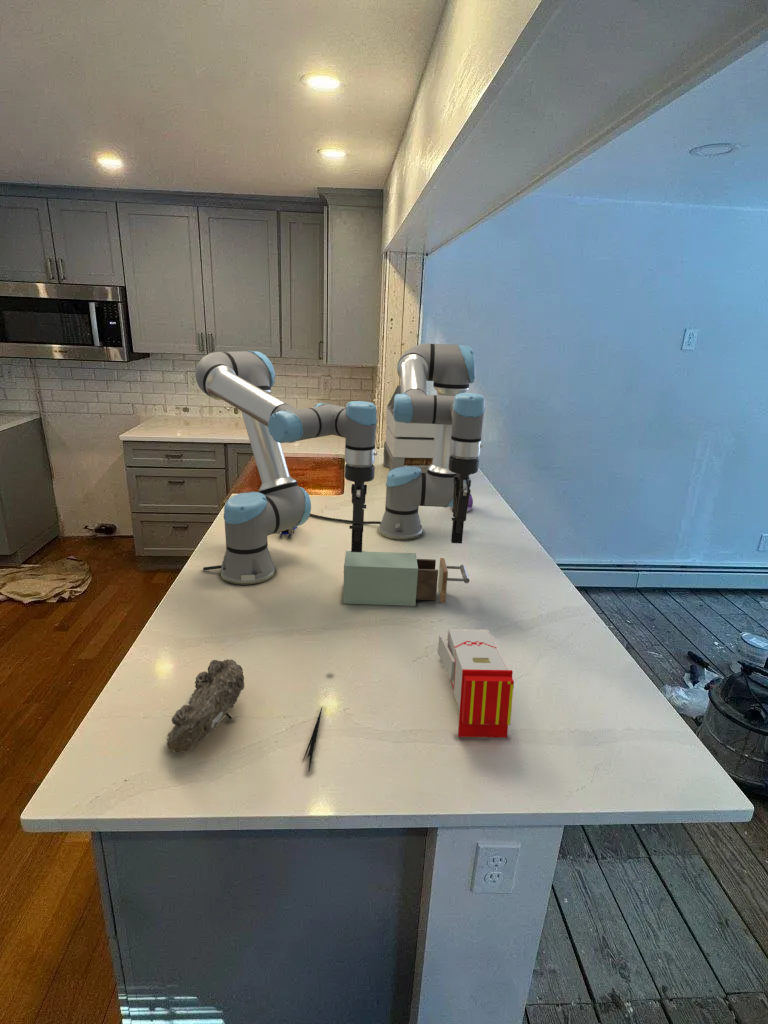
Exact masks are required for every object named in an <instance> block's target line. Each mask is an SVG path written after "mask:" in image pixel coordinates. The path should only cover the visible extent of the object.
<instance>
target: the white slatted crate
mask: <svg viewBox="0 0 768 1024" xmlns="http://www.w3.org/2000/svg"><path fill="white" fill-rule="evenodd" d="M396 394H401V384H400V385H399V384H398V385H397V386H396V388H395V390H394V392H393V394H392V395H391V398H390V400H389V402H388V404H387V405H386V413H385V414H386V415H385V423H386V428H385V438H384V442H383V466H384V467H388V468H389V472H390V471H391V470H393V469H395V468H399V467H405V466H413V467H428V466H430V465H431V464H432V462H433V448H434V434H435V424H420V423H403V422H396V421H395V420H394V418H393V416H394V397H395V395H396Z"/></svg>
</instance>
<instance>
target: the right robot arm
mask: <svg viewBox="0 0 768 1024" xmlns="http://www.w3.org/2000/svg"><path fill="white" fill-rule="evenodd" d="M475 358H476V357H475V353H474V350H473V348H472V347H471V346H470V345H465V344H464V345H463V344H453V343H452V344H449V343H448V344H447V343H429V342H426V343H425V342H424V343H419V344H416V345H414V346H412V347H410V348H409V349H407V350H406V351H405V352H404V353H402V354H401V356H400V357H399V359H398V361H397V366H396V372H397V375H398V377H399V379H400V386H401V394H396V395H395V397H394V416H393V418H394V420H395V421H396V422H403V423H420V424H435V434H434V448H433V462H432V464H431V465H430V466H429V465H428V466H427V471H426V472H424V471H423V472H422V469H421V468H420V467H419V466H407V465H404V467H399V468H395V469H393V470H391V471H390V470H389V471H388V473H387V475H386V482H385V486H386V488H385V489H386V490H385V504H384V505H385V507H384V508H385V509H384V513H383V515H382V519H381V521H379V520H378V521H377V520H376V521H374V520H373V521H372V520H371V521H368V520H367V521H365V520H364V525H378V533H379V534H380V535H381V536H382V537H385V538H387V539H389V540H395V541H410V540H415V539H418V538H420V537H421V536H422V535H423V525H422V524H421V518H420V515H419V507H433V508H434V507H435V508H452V507H453V509H451V511H452V517H451V521H452V524H451V525H452V527H451V535H450V537H451V538H450V542H451V544H463V535H464V525H465V522H467V514H468V512H467V508H468V501H469V496H470V494H471V493H472V490H471V485H472V479H470V475H475V474H476V473H478V472H479V465H480V458H479V456H480V454H481V448H483V447H484V446H483V443H482V434H483V427H484V425H483V424H484V418H485V417H484V416H485V412H486V407H485V406H486V398H485V397H484V395H482V394H479V393H475V392H467V391H468V390H469V389H470V384H474V383H475V380H476V360H475ZM427 382H433V384H432V386H433V387H432V388H434V390H435V391H436V393H437V394H429V392H428V384H427ZM469 488H470V489H469ZM309 517H312V518H317V519H322V520H326V521H331V522H341V523H347V524H352V521H353V519H352V520H350V519H344V518H343V519H342V518H335V517H330V516H329V517H328V516H322V515H318V514H314V513H310V515H309Z"/></svg>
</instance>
